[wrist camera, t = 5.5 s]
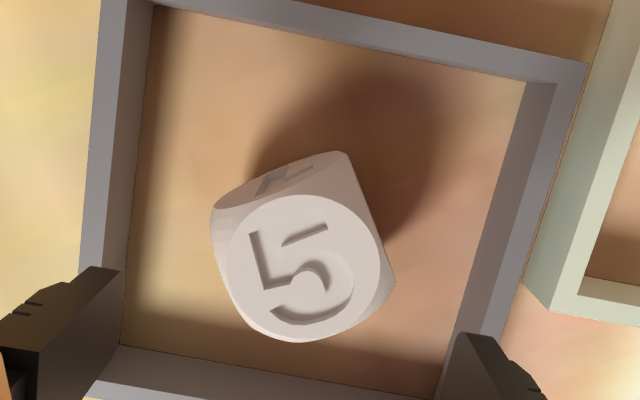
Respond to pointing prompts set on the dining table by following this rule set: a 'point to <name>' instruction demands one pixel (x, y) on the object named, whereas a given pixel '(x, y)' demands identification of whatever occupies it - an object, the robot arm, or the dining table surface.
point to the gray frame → (352, 29)
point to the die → (301, 250)
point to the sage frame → (592, 182)
